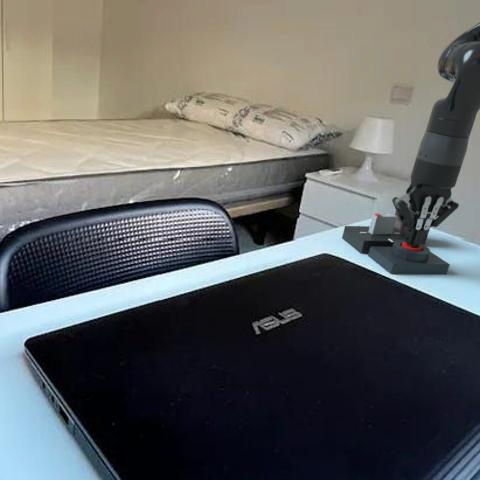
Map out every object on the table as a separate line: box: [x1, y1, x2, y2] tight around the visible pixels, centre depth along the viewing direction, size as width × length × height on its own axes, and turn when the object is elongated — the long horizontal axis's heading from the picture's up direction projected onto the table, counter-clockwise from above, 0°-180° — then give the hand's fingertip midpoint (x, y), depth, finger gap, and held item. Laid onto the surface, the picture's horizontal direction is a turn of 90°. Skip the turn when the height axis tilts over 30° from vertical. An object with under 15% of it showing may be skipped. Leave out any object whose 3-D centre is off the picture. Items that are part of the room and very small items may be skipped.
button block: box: [367, 240, 451, 275], centre depth 98 cm, size 12×8×4 cm, turn 99°
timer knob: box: [368, 213, 397, 235], centre depth 105 cm, size 5×1×4 cm, turn 104°
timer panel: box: [341, 224, 406, 255], centre depth 106 cm, size 12×9×3 cm
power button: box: [402, 242, 422, 251], centre depth 98 cm, size 4×4×2 cm
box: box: [394, 206, 431, 246], centre depth 110 cm, size 6×6×7 cm
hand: (412, 245), depth 97 cm, fingers closed
